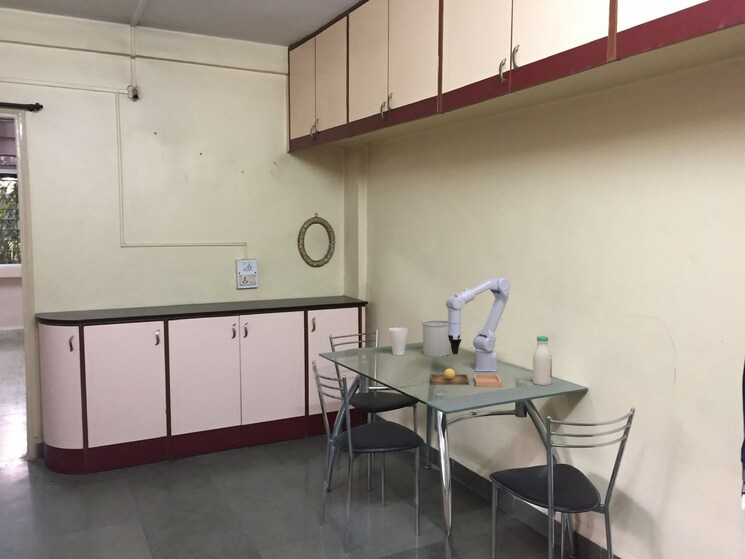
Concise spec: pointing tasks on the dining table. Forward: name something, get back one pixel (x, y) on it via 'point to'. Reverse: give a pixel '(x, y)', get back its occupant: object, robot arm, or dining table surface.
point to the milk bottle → (542, 362)
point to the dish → (487, 381)
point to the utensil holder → (435, 338)
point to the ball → (449, 374)
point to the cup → (398, 339)
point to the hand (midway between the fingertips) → (454, 352)
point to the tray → (441, 380)
